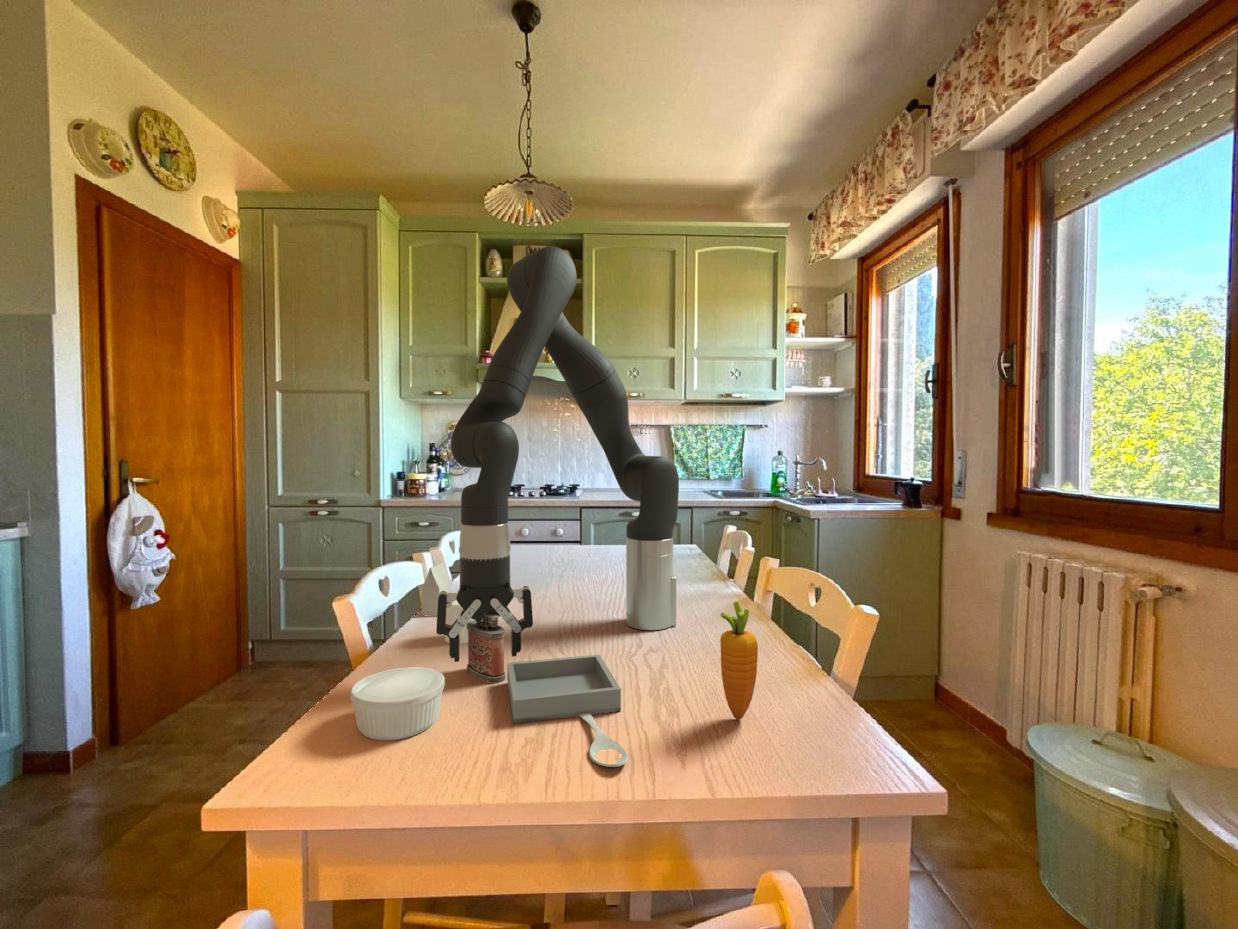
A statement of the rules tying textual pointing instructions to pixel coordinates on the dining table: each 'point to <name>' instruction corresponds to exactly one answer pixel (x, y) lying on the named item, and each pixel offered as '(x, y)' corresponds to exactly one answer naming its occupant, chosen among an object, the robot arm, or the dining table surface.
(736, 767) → the dining table surface
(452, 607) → the cream cup
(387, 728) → the ramekin
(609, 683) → the tray
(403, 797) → the dining table surface
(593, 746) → the spoon
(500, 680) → the lighter
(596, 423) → the robot arm
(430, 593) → the white milk carton
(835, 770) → the dining table surface
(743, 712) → the carrot
